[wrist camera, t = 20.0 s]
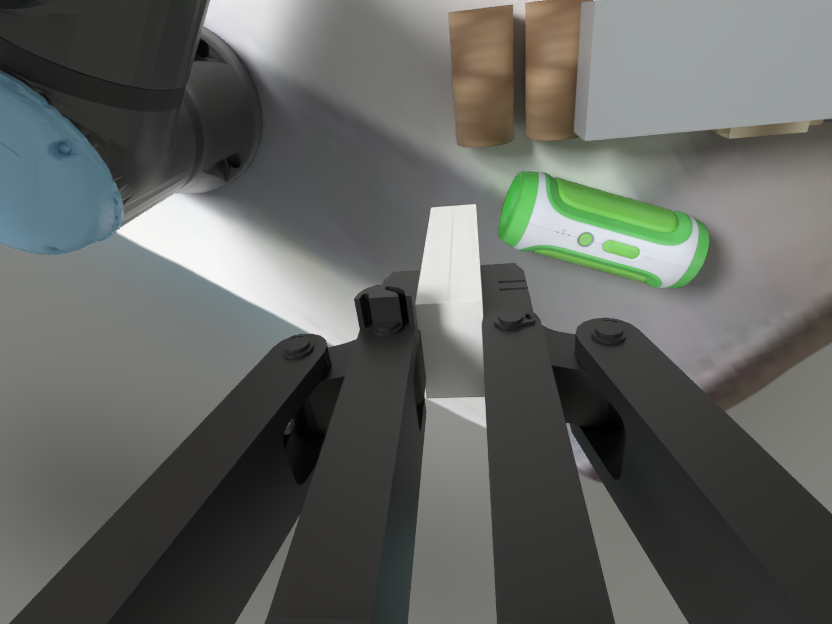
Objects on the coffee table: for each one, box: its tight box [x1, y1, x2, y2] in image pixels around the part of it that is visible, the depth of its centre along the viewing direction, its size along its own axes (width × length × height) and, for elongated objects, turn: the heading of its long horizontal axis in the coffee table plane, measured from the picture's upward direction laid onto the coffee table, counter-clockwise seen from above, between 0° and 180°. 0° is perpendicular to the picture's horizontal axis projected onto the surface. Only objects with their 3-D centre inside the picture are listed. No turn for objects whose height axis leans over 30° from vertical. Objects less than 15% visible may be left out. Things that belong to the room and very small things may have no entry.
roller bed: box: [449, 0, 593, 147], centre depth 41 cm, size 17×10×5 cm, turn 96°
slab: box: [574, 0, 832, 141], centre depth 36 cm, size 18×9×4 cm, turn 96°
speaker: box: [498, 172, 709, 288], centre depth 46 cm, size 18×7×8 cm, turn 76°
